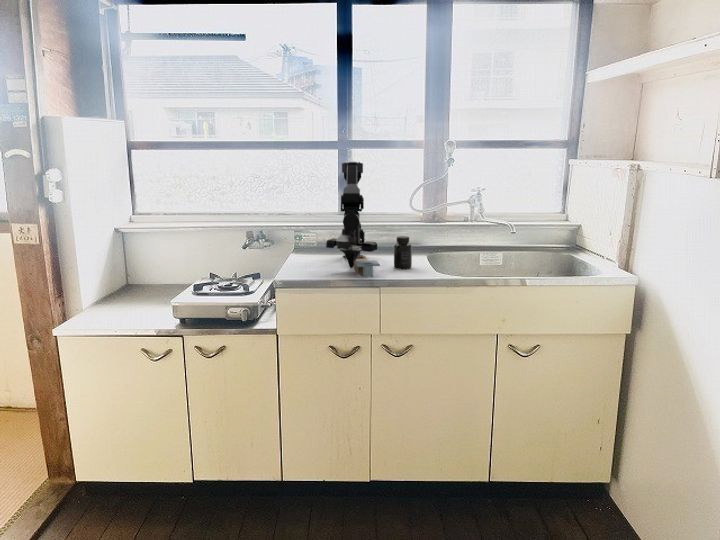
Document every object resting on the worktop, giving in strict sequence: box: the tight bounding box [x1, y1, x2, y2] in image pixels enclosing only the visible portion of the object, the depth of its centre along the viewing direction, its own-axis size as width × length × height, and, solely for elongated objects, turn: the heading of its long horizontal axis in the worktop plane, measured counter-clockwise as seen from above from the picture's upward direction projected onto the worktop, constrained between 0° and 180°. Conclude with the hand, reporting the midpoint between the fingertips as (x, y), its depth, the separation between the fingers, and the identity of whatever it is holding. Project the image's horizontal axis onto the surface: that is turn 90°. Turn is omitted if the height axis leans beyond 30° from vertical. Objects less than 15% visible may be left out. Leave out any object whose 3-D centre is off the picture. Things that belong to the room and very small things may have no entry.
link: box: [353, 255, 369, 275], centre depth 201 cm, size 18×6×3 cm, turn 9°
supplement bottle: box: [393, 235, 413, 270], centre depth 202 cm, size 7×7×12 cm
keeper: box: [354, 259, 381, 278], centre depth 191 cm, size 7×8×4 cm
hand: (351, 267), depth 197 cm, fingers closed
